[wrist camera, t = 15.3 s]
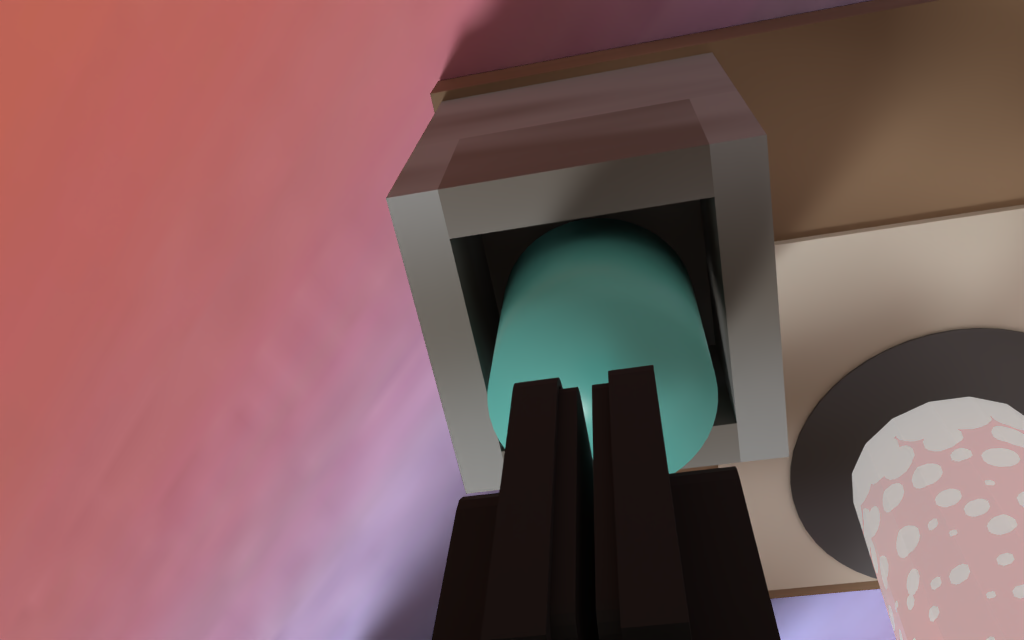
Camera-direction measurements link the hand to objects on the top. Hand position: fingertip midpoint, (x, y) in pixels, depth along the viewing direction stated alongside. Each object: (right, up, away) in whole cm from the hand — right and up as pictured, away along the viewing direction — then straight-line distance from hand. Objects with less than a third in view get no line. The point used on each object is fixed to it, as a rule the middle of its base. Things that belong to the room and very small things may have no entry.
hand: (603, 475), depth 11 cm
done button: (0, +2, +4) cm, 5 cm away
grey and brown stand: (+6, +2, +11) cm, 13 cm away
